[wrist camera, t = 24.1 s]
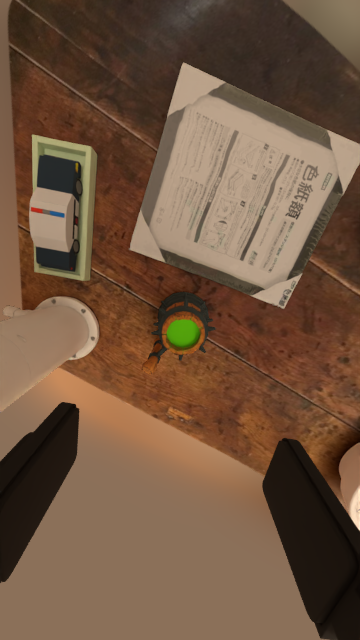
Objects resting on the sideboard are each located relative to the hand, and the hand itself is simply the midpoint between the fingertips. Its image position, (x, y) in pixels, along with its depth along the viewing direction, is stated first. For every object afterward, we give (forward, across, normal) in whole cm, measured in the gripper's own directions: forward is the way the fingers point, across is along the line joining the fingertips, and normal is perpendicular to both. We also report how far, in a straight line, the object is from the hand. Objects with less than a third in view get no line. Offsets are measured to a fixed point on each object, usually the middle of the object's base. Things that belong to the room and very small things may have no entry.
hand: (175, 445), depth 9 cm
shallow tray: (+28, +22, -13) cm, 38 cm away
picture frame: (+28, -6, -20) cm, 35 cm away
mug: (+28, 0, +2) cm, 29 cm away
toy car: (+28, +22, -12) cm, 37 cm away
